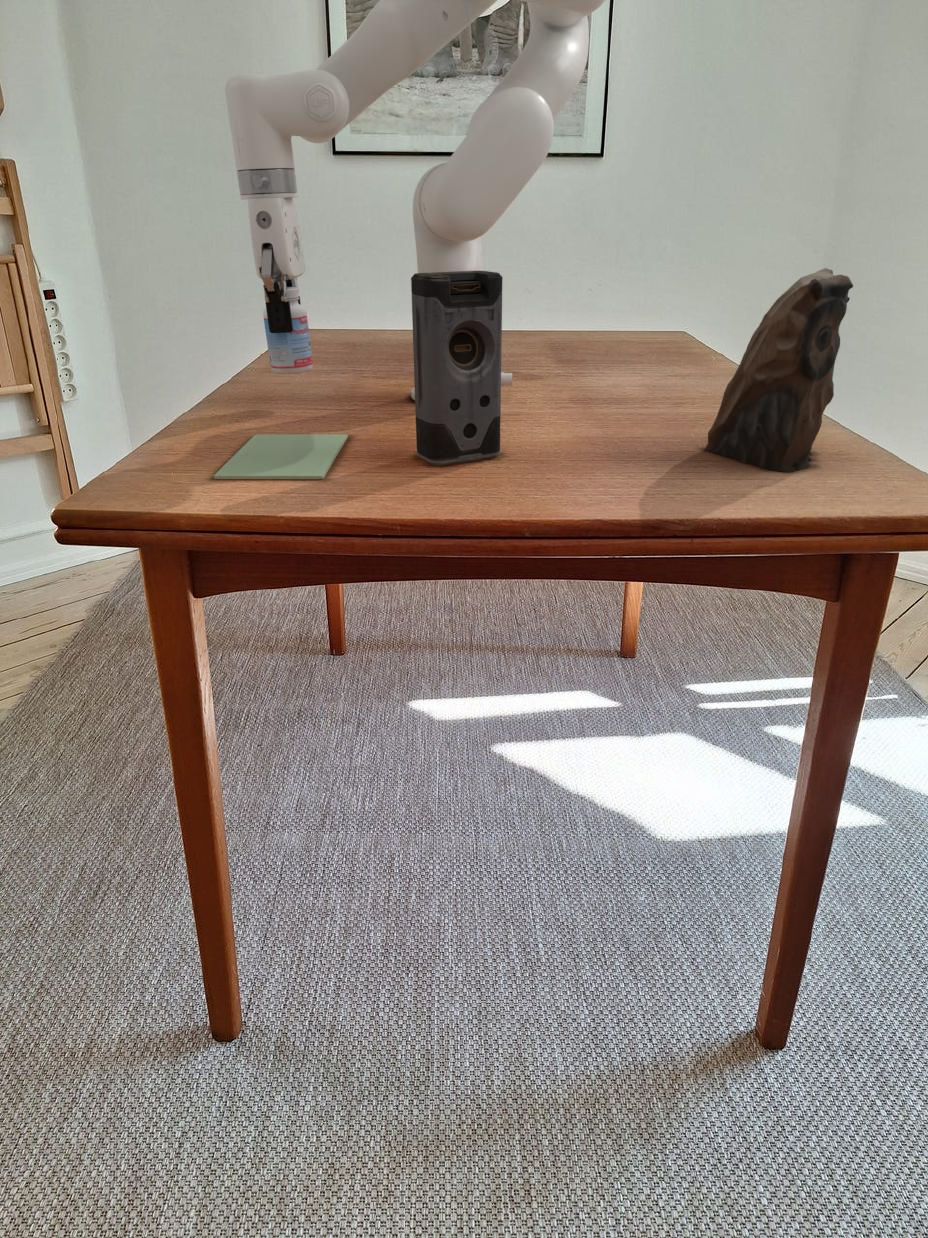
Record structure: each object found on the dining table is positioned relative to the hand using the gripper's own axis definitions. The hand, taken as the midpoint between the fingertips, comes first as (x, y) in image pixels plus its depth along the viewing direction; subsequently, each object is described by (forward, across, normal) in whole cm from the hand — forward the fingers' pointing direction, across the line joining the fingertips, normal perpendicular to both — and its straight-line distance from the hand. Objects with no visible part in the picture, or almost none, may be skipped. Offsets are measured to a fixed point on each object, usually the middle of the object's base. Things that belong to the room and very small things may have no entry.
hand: (286, 327), depth 116 cm
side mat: (+11, -27, -4) cm, 30 cm away
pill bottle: (+6, 0, 0) cm, 6 cm away
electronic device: (+12, -27, -25) cm, 39 cm away
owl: (+13, -26, -61) cm, 68 cm away
